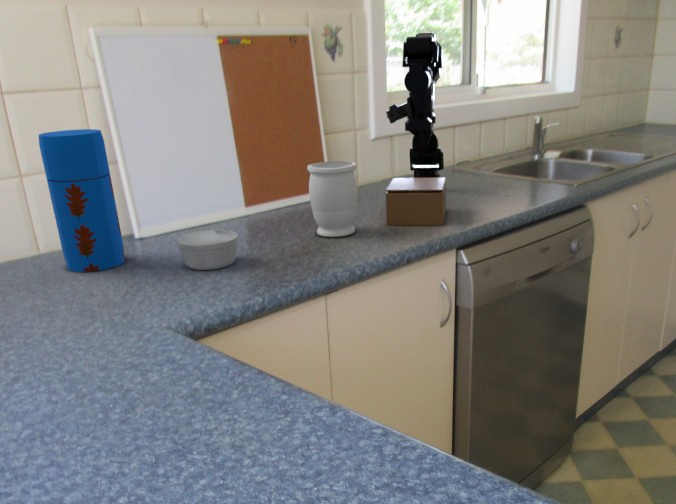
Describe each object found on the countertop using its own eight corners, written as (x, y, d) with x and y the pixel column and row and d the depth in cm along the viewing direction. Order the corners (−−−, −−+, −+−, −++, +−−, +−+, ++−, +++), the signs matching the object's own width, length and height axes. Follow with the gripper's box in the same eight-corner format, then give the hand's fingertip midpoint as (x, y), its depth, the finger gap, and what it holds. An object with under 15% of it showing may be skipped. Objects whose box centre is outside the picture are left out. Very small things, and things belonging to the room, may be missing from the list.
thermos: (61, 274, 124) (30, 138, 115) (71, 258, 133) (44, 131, 124) (123, 268, 126) (97, 134, 117) (128, 253, 136) (106, 127, 127)
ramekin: (253, 259, 129) (250, 232, 128) (210, 275, 121) (207, 247, 119) (211, 252, 135) (208, 226, 133) (168, 267, 126) (164, 240, 124)
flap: (393, 179, 162) (393, 177, 162) (445, 178, 161) (445, 177, 161) (389, 185, 155) (389, 183, 155) (444, 184, 154) (444, 183, 154)
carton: (394, 210, 165) (393, 177, 162) (445, 210, 164) (445, 177, 161) (386, 225, 151) (385, 190, 148) (442, 225, 150) (442, 189, 147)
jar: (331, 224, 153) (327, 159, 148) (368, 229, 148) (365, 162, 143) (302, 236, 144) (296, 166, 139) (341, 241, 139) (336, 170, 134)
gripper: (392, 90, 171) (394, 151, 177) (382, 95, 154) (385, 162, 160) (435, 89, 170) (436, 150, 176) (430, 93, 153) (431, 162, 158)
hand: (421, 156), depth 167 cm, fingers closed
